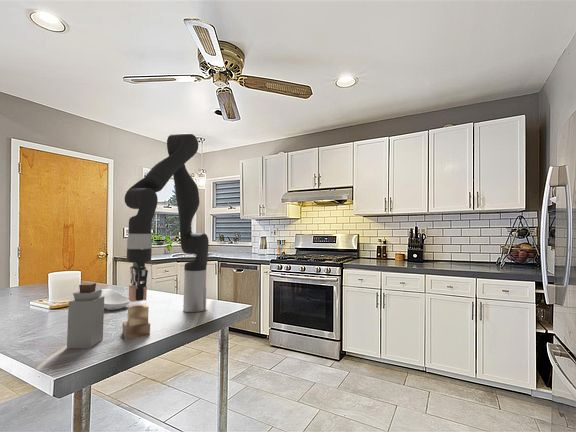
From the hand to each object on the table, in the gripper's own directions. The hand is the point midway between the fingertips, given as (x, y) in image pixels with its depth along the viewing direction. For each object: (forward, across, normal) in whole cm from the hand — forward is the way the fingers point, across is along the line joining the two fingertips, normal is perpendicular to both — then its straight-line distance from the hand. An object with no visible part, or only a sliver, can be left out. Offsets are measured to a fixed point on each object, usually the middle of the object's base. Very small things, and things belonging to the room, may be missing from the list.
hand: (137, 298), depth 103 cm
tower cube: (+8, 0, 0) cm, 8 cm away
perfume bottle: (+12, 0, -14) cm, 19 cm away
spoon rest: (+12, -47, -1) cm, 49 cm away
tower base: (+12, 0, 0) cm, 12 cm away
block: (0, 0, 0) cm, 0 cm away
